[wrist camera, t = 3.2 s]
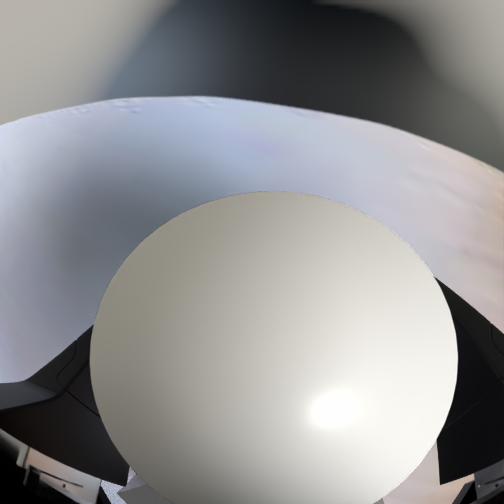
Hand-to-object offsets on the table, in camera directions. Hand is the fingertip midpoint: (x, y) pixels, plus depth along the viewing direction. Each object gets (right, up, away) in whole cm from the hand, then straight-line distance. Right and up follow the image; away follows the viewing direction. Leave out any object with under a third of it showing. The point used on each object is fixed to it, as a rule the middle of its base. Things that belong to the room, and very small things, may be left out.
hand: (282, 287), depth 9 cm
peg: (+1, -2, +6) cm, 7 cm away
